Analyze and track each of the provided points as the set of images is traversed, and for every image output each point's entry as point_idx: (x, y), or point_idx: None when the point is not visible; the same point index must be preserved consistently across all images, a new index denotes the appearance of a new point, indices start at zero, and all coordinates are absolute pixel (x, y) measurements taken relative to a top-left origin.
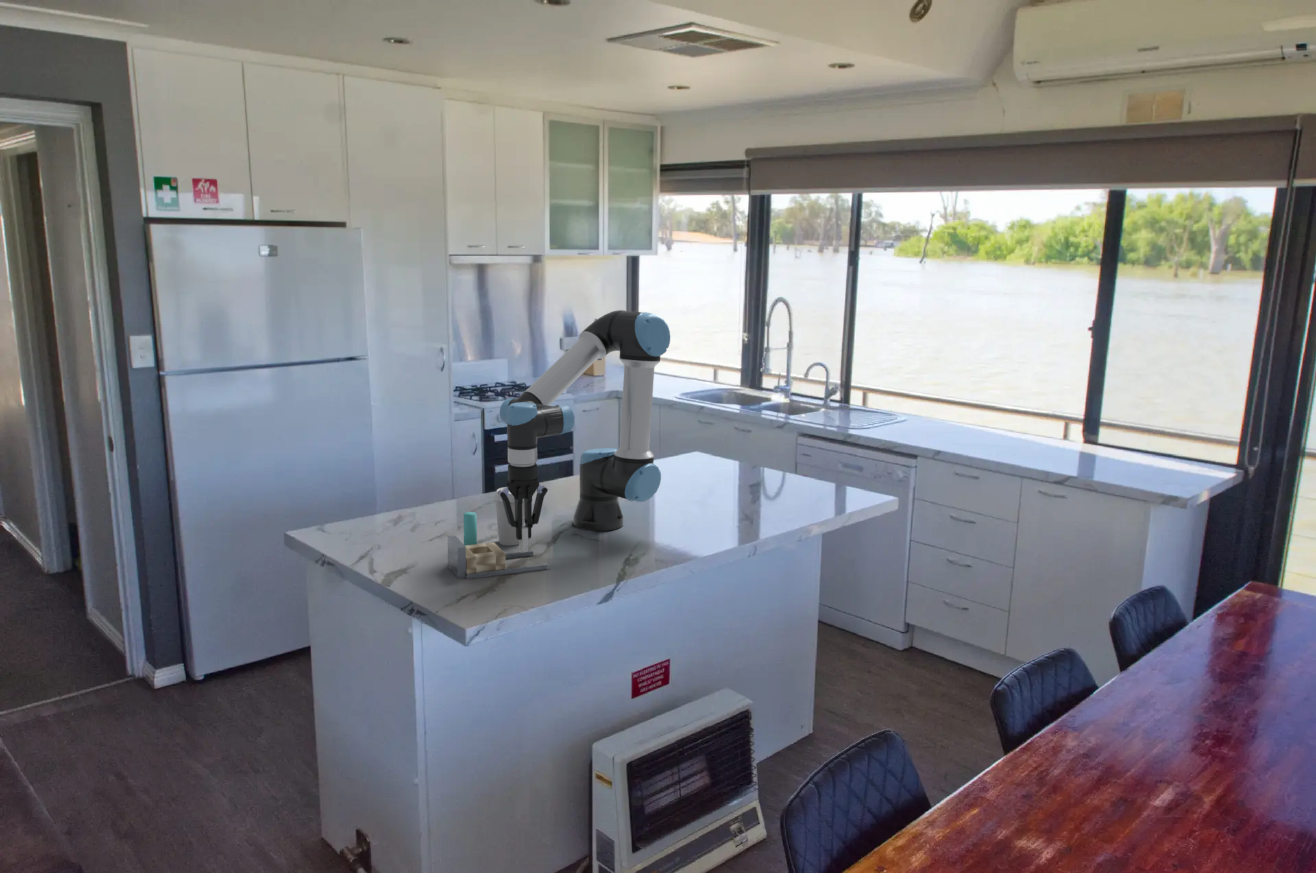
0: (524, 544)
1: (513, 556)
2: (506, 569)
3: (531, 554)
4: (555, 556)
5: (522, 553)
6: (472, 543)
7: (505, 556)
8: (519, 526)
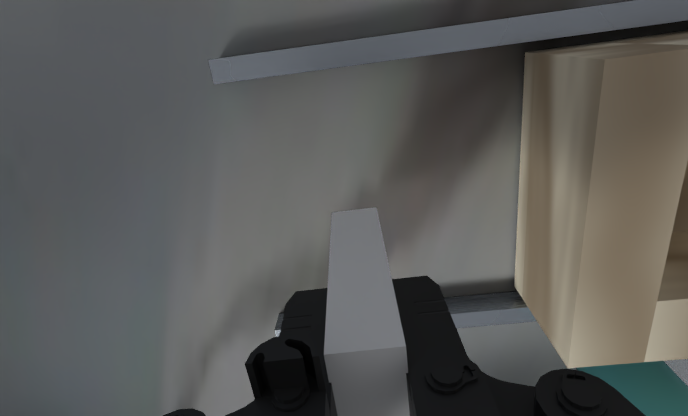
0: (365, 238)
1: None
2: (539, 21)
3: None
4: (155, 280)
5: None
6: (680, 408)
7: None
8: (460, 372)
